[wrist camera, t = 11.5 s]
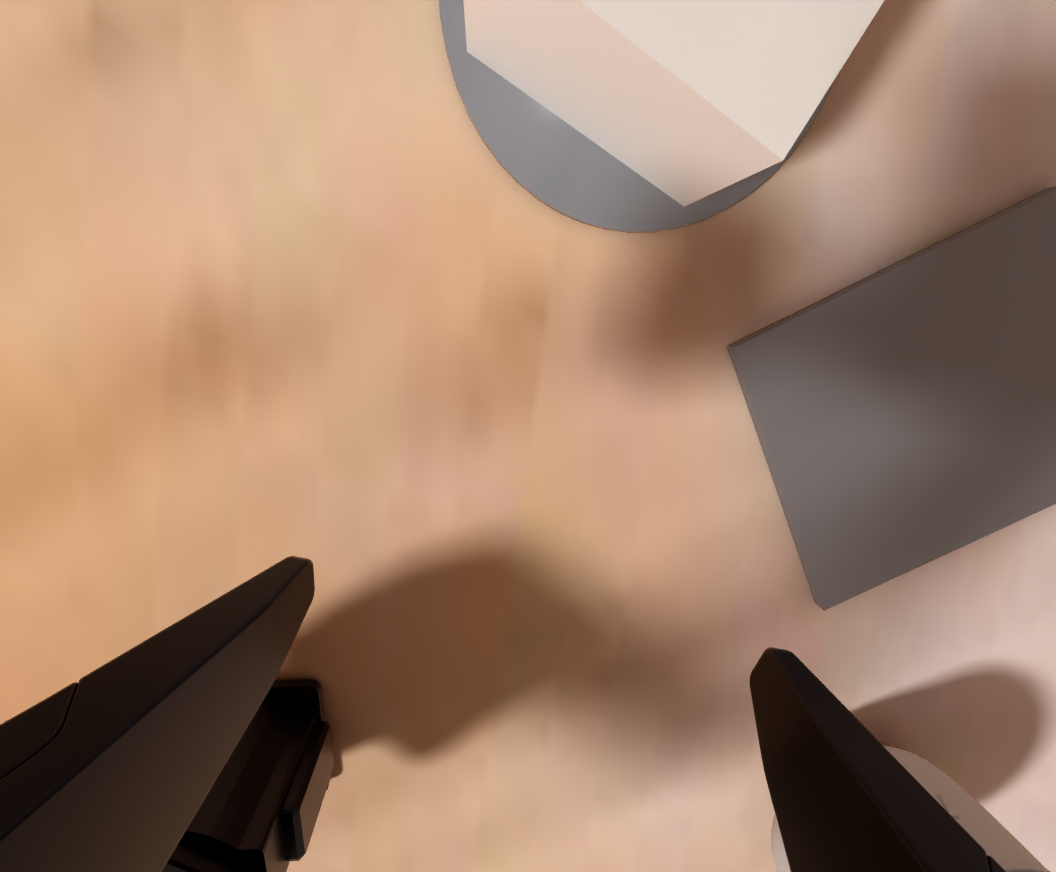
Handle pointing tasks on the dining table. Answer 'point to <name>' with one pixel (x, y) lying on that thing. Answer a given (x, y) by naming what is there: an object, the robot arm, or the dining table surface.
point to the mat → (913, 403)
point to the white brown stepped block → (674, 76)
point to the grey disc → (571, 152)
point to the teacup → (960, 805)
